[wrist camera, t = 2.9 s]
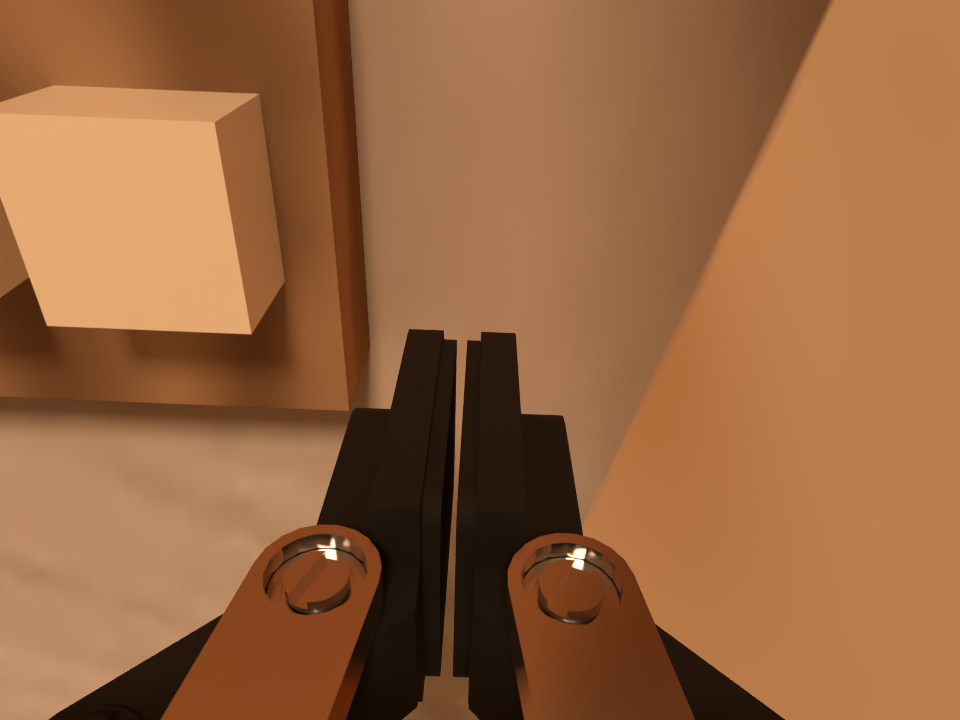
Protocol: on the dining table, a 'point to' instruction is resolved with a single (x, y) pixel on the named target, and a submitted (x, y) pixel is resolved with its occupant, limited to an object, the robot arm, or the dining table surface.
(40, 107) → the tile
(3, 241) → the tile
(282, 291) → the board
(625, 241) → the dining table surface
